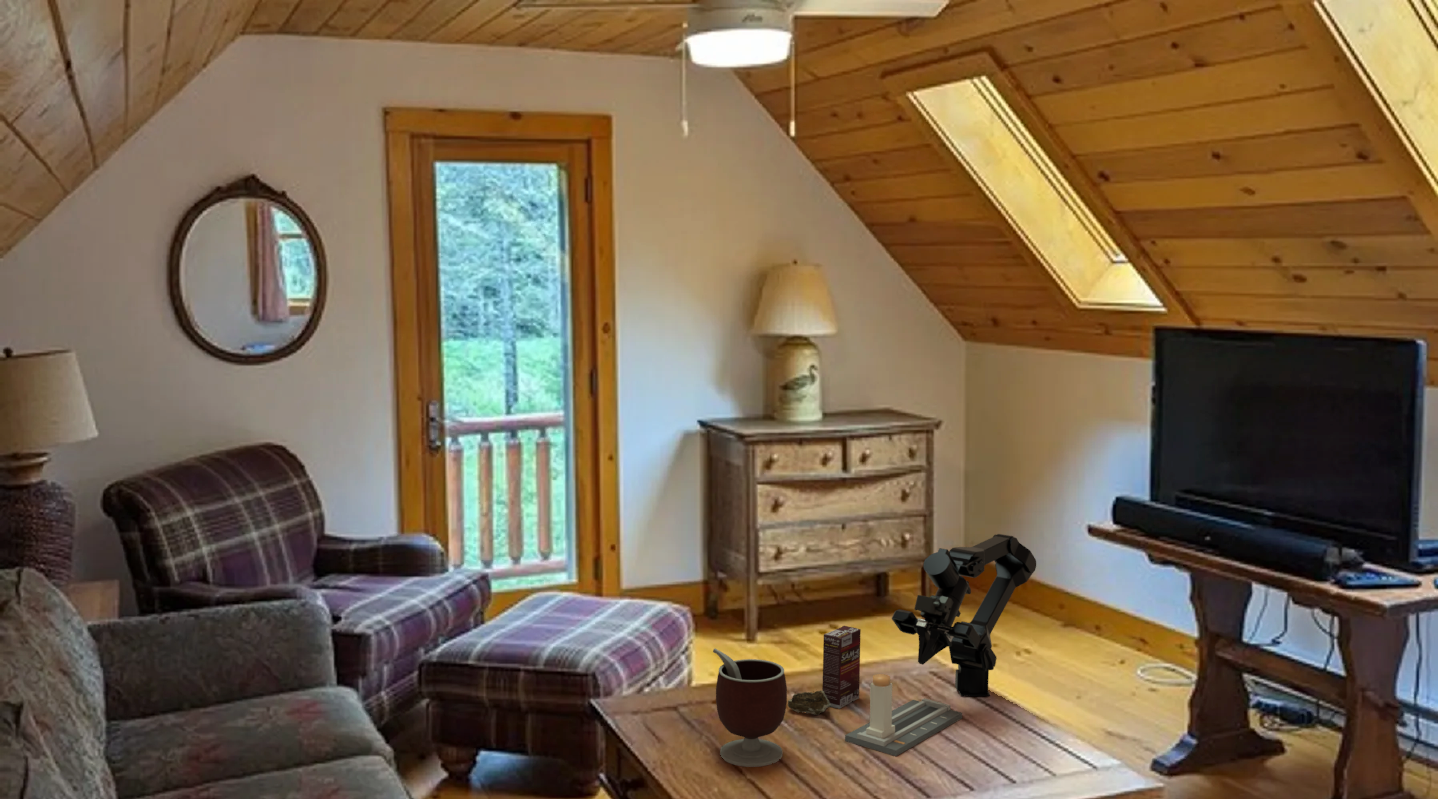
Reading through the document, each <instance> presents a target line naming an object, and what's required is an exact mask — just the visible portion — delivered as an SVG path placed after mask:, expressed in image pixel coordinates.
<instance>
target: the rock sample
mask: <svg viewBox="0 0 1438 799" xmlns="http://www.w3.org/2000/svg"><path fill="white" fill-rule="evenodd" d="M830 705H831V704H830V702H829V700H828V699H827V697H826V695H825V693H824V691H822V690H818V691H815V692H814V691H813V692H812V691H811V692H807V691H806V692H798V693H794V694H793V695H792V697H791V699H787V707H788V708H789V709H790V710H792V711H794V712H796V713H799V712H802V713H803V712H806V713H805V714H808V713H811V715H814V716H819V715H820V713H824V712H826V709H827V708H831V707H830Z"/></svg>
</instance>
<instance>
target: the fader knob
mask: <svg viewBox="0 0 1438 799" xmlns="http://www.w3.org/2000/svg"><path fill="white" fill-rule="evenodd" d="M869 687H870V689H869V690H870V692H869V694H870V695H869V696H870V697H869V702H870V705H869V722H870V727H868V728H866V734H868V735H871V736H874V737H878V738H881V739H885V738H887V737H889V736H891V735H893V734H894V733H895V725H892V710H893V683H892V682H891V676H890V675H888V674H886V673H884V674H883V673H875V674H874V675H872V682H871V683H870V686H869Z"/></svg>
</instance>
